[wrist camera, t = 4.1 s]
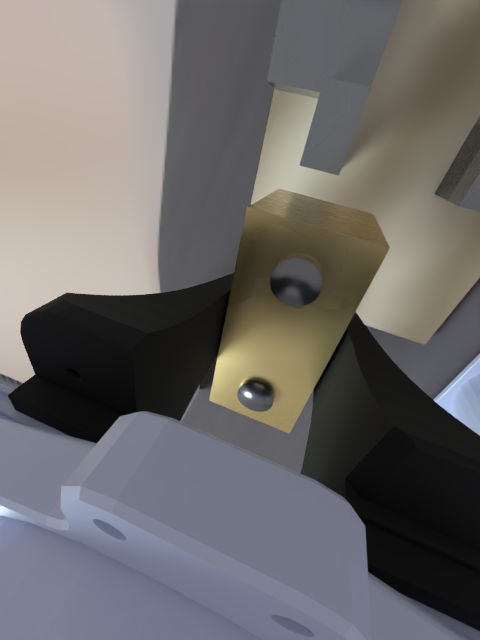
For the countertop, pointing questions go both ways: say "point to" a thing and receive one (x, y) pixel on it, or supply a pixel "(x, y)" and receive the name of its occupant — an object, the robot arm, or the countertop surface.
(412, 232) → the board
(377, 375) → the robot arm
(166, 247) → the countertop surface
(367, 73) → the chain ends
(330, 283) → the link
